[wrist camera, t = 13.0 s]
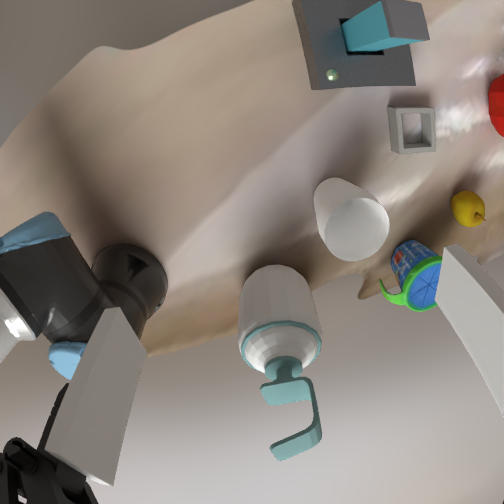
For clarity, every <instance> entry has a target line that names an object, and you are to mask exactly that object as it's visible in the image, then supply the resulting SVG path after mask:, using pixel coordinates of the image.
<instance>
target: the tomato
mask: <svg viewBox="0 0 504 504" xmlns="http://www.w3.org/2000/svg"><path fill="white" fill-rule="evenodd" d="M488 99H489V115H490V119H491V122H492V124H493V126H494V127H495V129H496V130H497V132H498V133H499V134H500V135H501V136H503V137H504V74H502V75H501V76H500V77H498V78H496V79H494V81H493V82H492V84H491V86H490V89H489V93H488Z"/></svg>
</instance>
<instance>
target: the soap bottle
mask: <svg viewBox="0 0 504 504" xmlns="http://www.w3.org/2000/svg"><path fill="white" fill-rule="evenodd" d="M321 340H322V330H321V326H320V322H319V318H318V314H317V311H316V307H315V304H314V300H313V296H312V292H311V290H310V288H309V286H308V284H307V281H306V280H305V278H304V277H303V276H302V275H300V274H299V273H298V272H296V271H295V270H294V269H293V268H291V267H287V266H283V265H267V266H265V267H262V268H260V269H258V270H256V271H255V272H254V273H253V274H252V275H251V276H249V277H248V279H247V280H246V281H245V283H244V286H243V288H242V291H241V293H240V296H239V325H238V341H239V348H240V352H241V354H242V358H243V359H244V360H245V362H246V363H247V364H248V365H249V366H250V367H252V368H254V369H256V370H258V371H260V372H264V373H265V375H266V377H267V378H268V379H270V380H272V381H273V382H270V383H265V384H263V385H261V387H260V390H261V393H262V394H263V397H264V399H265V401H266V402H267V404H269V405H280V404H285V403H291V402H296V401H301V400H310V401H311V402H312V406H313V412H314V417H313V422H312V424H311V425H310V426H309V427H308V428H306V429H305V430H303V431H301V432H299V433H296V434H294V435H292V436H290V437H288V438H285V439H283V440H280V441H278V442H276V443H274V444H272V445H271V446H270V450H271V452H272V453H273V454H274V456H275V457H276V458H277V460H280V461H281V460H285V459H287V458H290V457H292V456H294V455H297V454H299V453H301V452H304V451H306V450H308V449H310V448H312V447H314V446H315V445H317V444H318V443H319V442H320V440H321V438H322V430H321V424H320V418H319V412H318V406H317V401H316V396H315V392H314V388H313V383H312V381H311V380H310V379H309V378H307V377H298V376H300V374H301V373H302V370H303V368H304V367H306V366H307V365H309V364H310V363H312V362H313V361H314V360H315V358H316V357H317V356H318V354H319V353H320V349H321V342H322V341H321ZM249 362H250V363H249Z"/></svg>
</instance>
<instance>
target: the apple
mask: <svg viewBox="0 0 504 504" xmlns="http://www.w3.org/2000/svg"><path fill="white" fill-rule="evenodd" d="M451 209H452V212H453V214H454V217H455V219H456V220H457V221H458V222H459V223H460V224H461V225H463V226H466V227H474V226H477V225H479V224H481V222H482V221H483V220H484V221H486V220H485V219H484V217H485V205H484V202H483V200H482V199H481V198H480V197H479V196H478V195H477V194H475V193H474V192H471V191H462V192H460V193H458V194H456V195H454V196H453V197H452V200H451Z"/></svg>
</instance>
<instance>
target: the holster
mask: <svg viewBox="0 0 504 504" xmlns="http://www.w3.org/2000/svg"><path fill="white" fill-rule="evenodd" d="M387 110H388V119H389V130H390V142H391V150H392V151H394V152H396V153H398V154H410V153H422V152H435V151H436V136H435V118H434V108H431V107H425V106H402V107H387ZM407 113H421V126H422V143H414V144H403V130H402V118H401V114H407Z"/></svg>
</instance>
